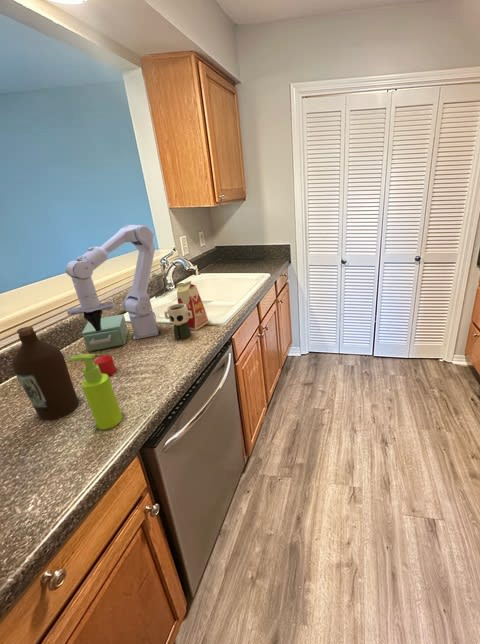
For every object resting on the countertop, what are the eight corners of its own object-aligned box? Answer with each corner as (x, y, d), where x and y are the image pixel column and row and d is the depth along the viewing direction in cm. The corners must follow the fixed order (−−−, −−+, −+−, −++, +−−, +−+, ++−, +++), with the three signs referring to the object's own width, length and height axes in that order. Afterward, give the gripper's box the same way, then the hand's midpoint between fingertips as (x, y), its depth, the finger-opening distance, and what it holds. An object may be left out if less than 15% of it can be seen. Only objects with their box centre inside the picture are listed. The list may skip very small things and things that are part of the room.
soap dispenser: (99, 415, 87) (75, 351, 79) (126, 413, 88) (104, 348, 80) (88, 430, 82) (61, 363, 74) (116, 428, 83) (92, 360, 74)
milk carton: (209, 321, 143) (201, 278, 135) (196, 330, 135) (187, 284, 127) (191, 319, 146) (183, 277, 138) (178, 328, 138) (168, 283, 130)
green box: (124, 344, 126) (119, 326, 123) (88, 351, 122) (81, 333, 119) (128, 331, 138) (123, 314, 135) (95, 336, 134) (89, 319, 131)
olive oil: (65, 394, 97) (33, 318, 87) (89, 401, 94) (59, 322, 84) (27, 417, 88) (-13, 335, 78) (52, 425, 85) (14, 341, 75)
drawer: (120, 350, 120) (116, 335, 118) (85, 356, 117) (80, 342, 114) (125, 331, 135) (121, 318, 133) (94, 337, 131) (90, 324, 129)
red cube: (117, 366, 111) (113, 354, 109) (115, 374, 106) (110, 361, 104) (100, 370, 109) (95, 357, 107) (97, 378, 105) (92, 364, 103)
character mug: (166, 341, 127) (159, 310, 122) (173, 333, 134) (166, 303, 129) (193, 340, 127) (187, 309, 122) (199, 332, 133) (193, 303, 128)
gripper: (59, 301, 107) (73, 338, 113) (108, 295, 112) (119, 330, 117) (65, 295, 113) (78, 330, 119) (111, 289, 118) (121, 323, 123)
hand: (98, 330), depth 118 cm, fingers closed
